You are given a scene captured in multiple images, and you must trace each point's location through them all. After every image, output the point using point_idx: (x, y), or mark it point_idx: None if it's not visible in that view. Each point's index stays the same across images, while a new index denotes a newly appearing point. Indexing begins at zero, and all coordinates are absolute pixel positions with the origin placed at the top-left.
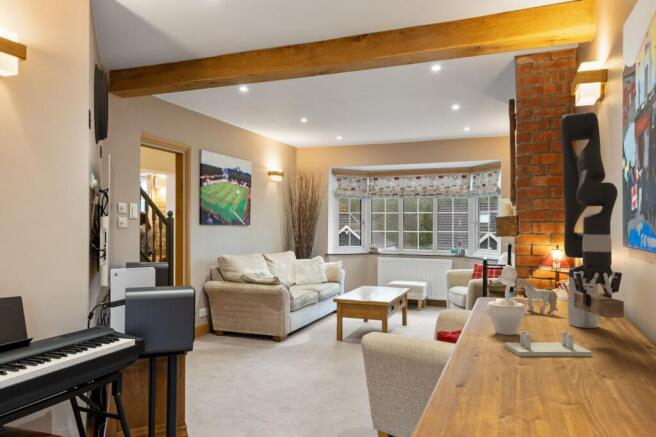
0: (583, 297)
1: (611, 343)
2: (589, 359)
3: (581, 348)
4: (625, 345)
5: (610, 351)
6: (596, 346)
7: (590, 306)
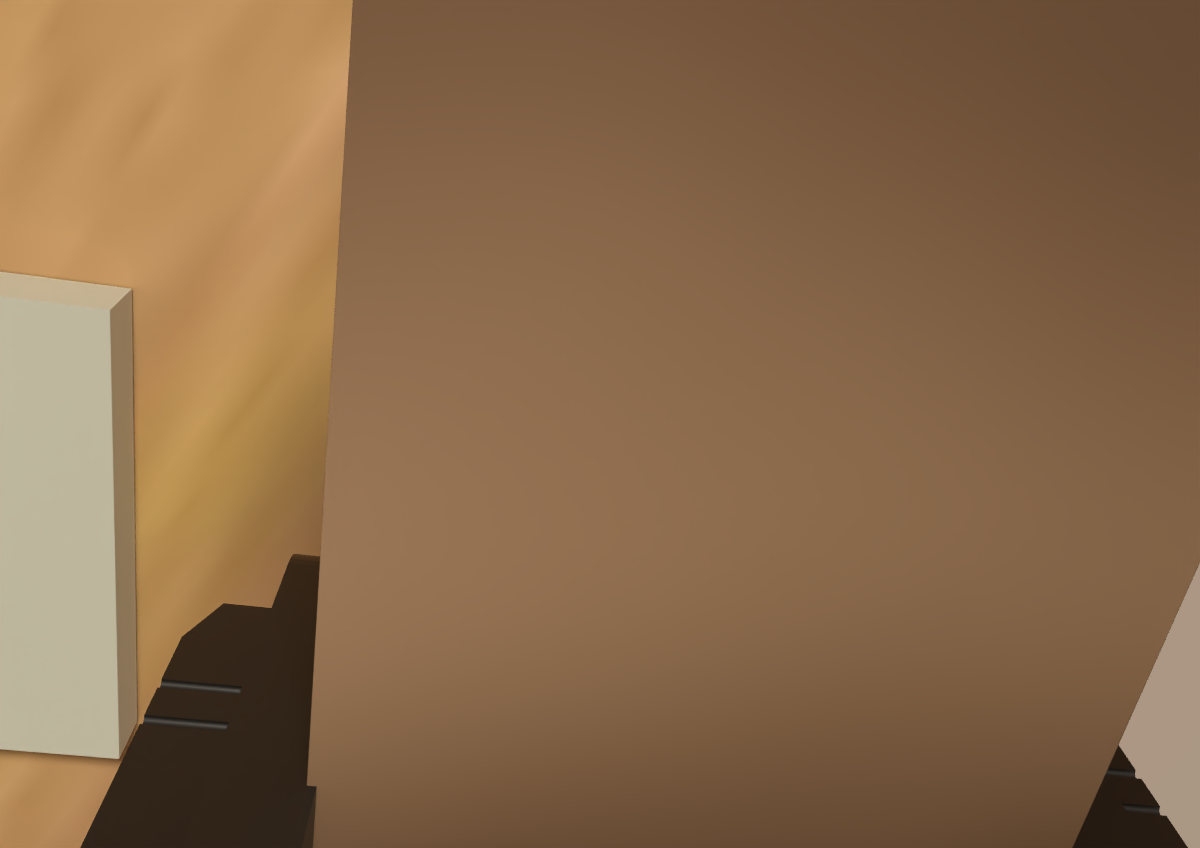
0: (110, 824)
1: None
2: (32, 812)
3: (68, 619)
4: None
5: None
6: None
7: None
